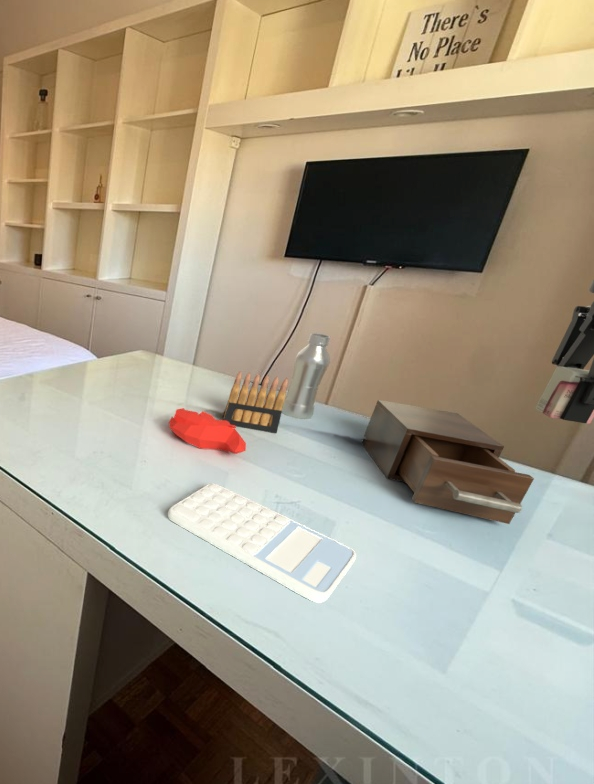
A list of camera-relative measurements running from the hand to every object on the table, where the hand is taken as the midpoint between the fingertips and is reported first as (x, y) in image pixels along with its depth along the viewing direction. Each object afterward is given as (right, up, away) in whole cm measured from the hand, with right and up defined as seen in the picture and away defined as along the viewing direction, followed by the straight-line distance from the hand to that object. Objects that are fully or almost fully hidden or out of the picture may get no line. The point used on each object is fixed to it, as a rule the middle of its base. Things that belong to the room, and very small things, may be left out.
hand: (562, 415), depth 74 cm
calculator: (-58, -16, -13) cm, 61 cm away
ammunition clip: (-39, -4, +24) cm, 46 cm away
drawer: (-20, -13, 0) cm, 24 cm away
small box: (0, -1, 0) cm, 1 cm away
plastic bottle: (-26, -3, +29) cm, 39 cm away
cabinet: (-15, -11, +11) cm, 21 cm away
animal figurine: (-52, -7, +14) cm, 54 cm away
